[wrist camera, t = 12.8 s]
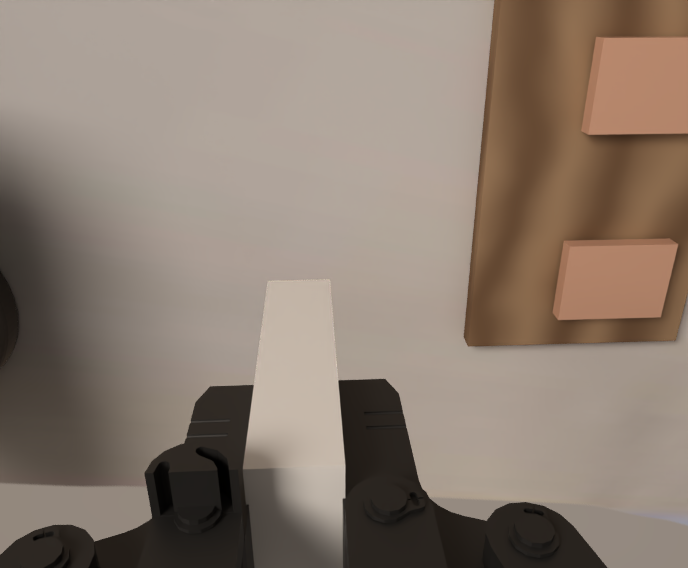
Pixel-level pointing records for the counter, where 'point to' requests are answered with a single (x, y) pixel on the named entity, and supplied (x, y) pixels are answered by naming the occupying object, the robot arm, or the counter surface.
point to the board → (567, 174)
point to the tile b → (638, 86)
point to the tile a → (613, 278)
